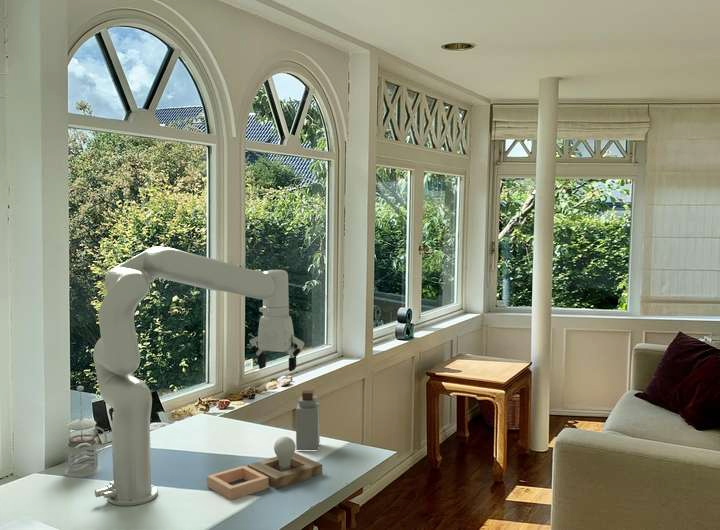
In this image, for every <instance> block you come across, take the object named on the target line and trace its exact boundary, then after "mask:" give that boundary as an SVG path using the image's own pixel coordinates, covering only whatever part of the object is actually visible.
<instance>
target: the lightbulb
mask: <svg viewBox="0 0 720 530" xmlns="http://www.w3.org/2000/svg"><path fill="white" fill-rule="evenodd" d="M273 450H274V454H275V457H276V456H277V457H278V460H279V465H280V470H279V471H280V472H284V471H287V470H290V469H291V468H290V463H291V458H292V456H293V454H294V452H295V453H296V443H295V441H294V439H293V438H291V437H289V436H281V437H279V438H277V439H276V440H275V442H274V445H273Z"/></svg>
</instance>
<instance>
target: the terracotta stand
mask: <svg viewBox="0 0 720 530" xmlns="http://www.w3.org/2000/svg"><path fill="white" fill-rule="evenodd" d="M242 478H243V480H245V481H244V482H240V483H237V484H233V485H231V484H229V483H232V482H235V481H239V479H240V480H242ZM206 487H207V488H208V489H210V490H212V491H214V492H215V493H217V494H219V495H221V496H222V497H224V498H226V499H227V500H230V501H231V500H236V499H238V498H243V497H245V496H249V495H250V494H255V493H257V492H261V491H264V490H267V489H269V488H270V486H269V477H267V476H265V475H263V474H261V473H259V472H257V471H255V470H253V469H251V468H249V467H248V466H247V465H245V464H244V465H242V466H238V467H234V468H230V469H227V470H223V471H221V472H220V471H219V472H216V473H213V474H210V475H209V474H208V475H206Z"/></svg>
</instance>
